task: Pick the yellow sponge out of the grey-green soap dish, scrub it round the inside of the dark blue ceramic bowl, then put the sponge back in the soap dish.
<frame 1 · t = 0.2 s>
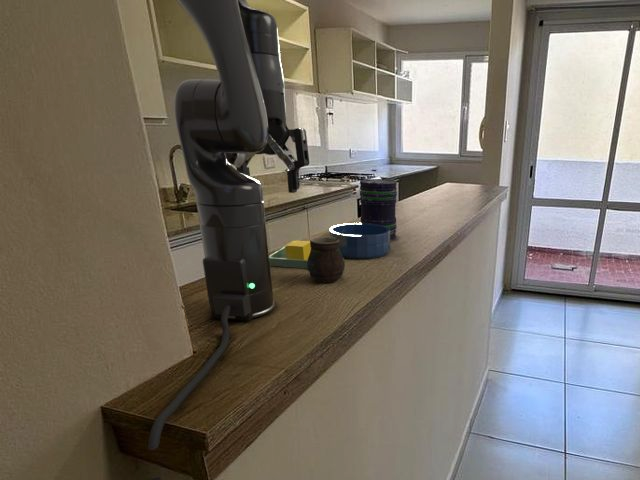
hand: (269, 191, 78), 17 cm above the countertop, tool pointing down, fingers open, 8 cm apart
mate gourd: (327, 280, 88), on the countertop
sponge: (299, 251, 98), in the soap dish
soap dish: (299, 260, 99), on the countertop
bowl: (360, 251, 108), on the countertop
storage jar: (378, 238, 123), on the countertop
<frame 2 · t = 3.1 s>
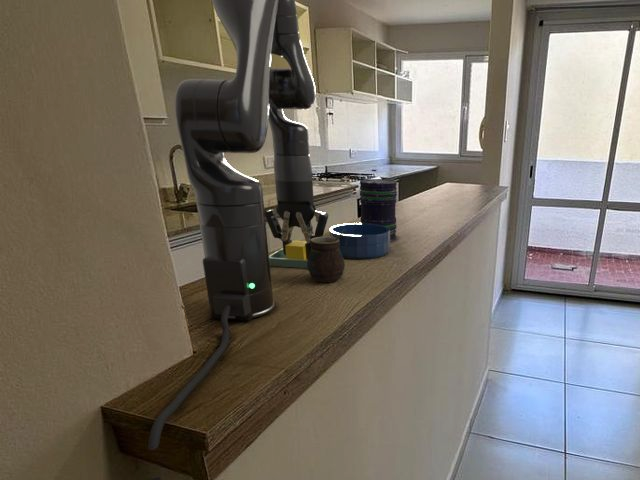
hand: (299, 257, 99), 1 cm above the countertop, tool pointing down, fingers closed on sponge, 4 cm apart
sponge: (299, 251, 98), in the soap dish, touching gripper
everything else where it was.
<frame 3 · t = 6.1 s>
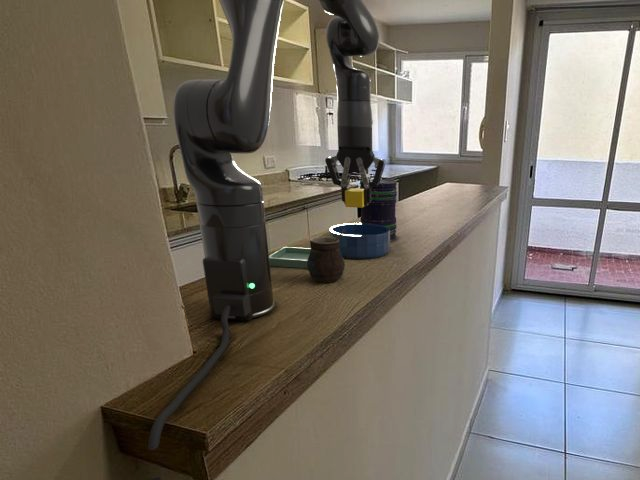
hand: (356, 204, 104), 11 cm above the countertop, tool pointing down, fingers closed on sponge, 4 cm apart
sponge: (356, 197, 103), point 13 cm above the countertop, touching gripper
everything else where it was.
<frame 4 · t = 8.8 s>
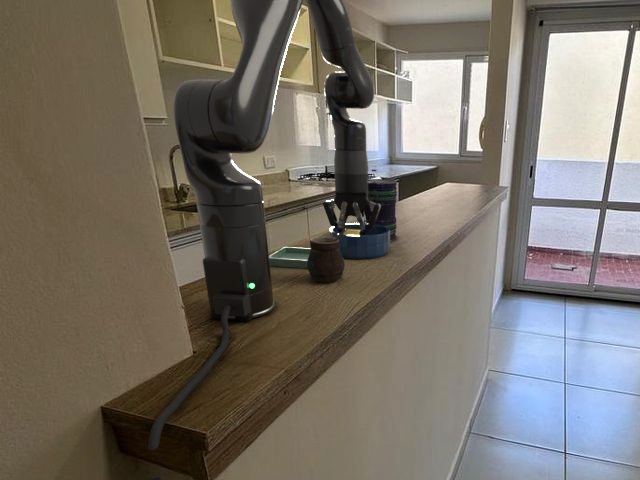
hand: (353, 244, 108), 2 cm above the countertop, tool pointing down, fingers closed on sponge, 4 cm apart
sponge: (352, 238, 107), in the bowl, point 3 cm above the countertop, touching gripper
everything else where it was.
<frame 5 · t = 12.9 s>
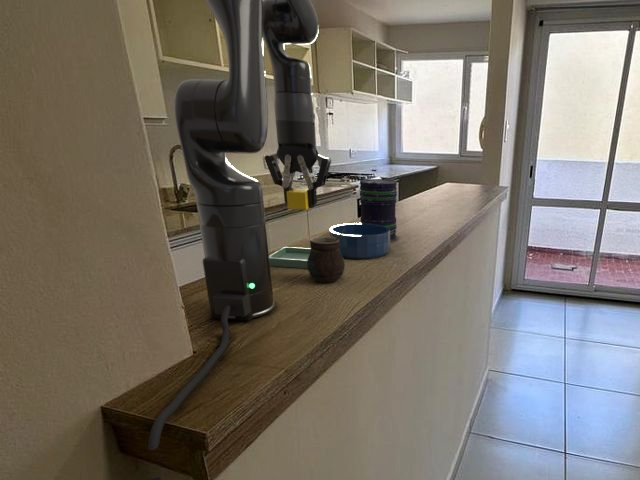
hand: (301, 206, 95), 12 cm above the countertop, tool pointing down, fingers closed on sponge, 4 cm apart
sponge: (300, 199, 95), point 13 cm above the countertop, touching gripper
everything else where it was.
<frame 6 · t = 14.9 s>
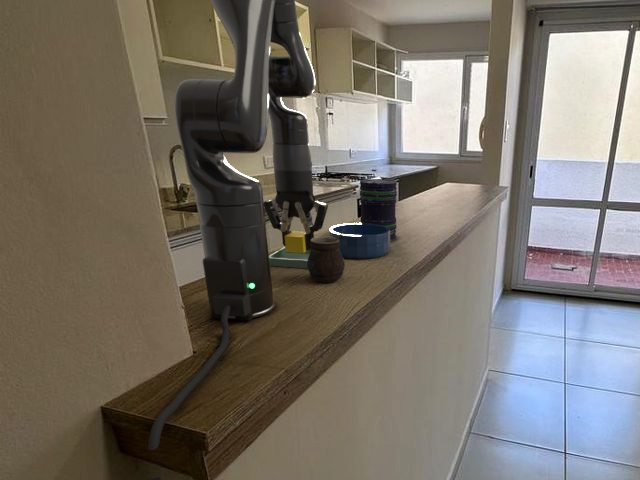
hand: (299, 248, 98), 3 cm above the countertop, tool pointing down, fingers closed on sponge, 4 cm apart
sponge: (298, 241, 98), point 4 cm above the countertop, touching gripper
everything else where it was.
when the fingers open (1 cm above the countertop, at t = 15.9 s): sponge stays where it is, resting on soap dish.
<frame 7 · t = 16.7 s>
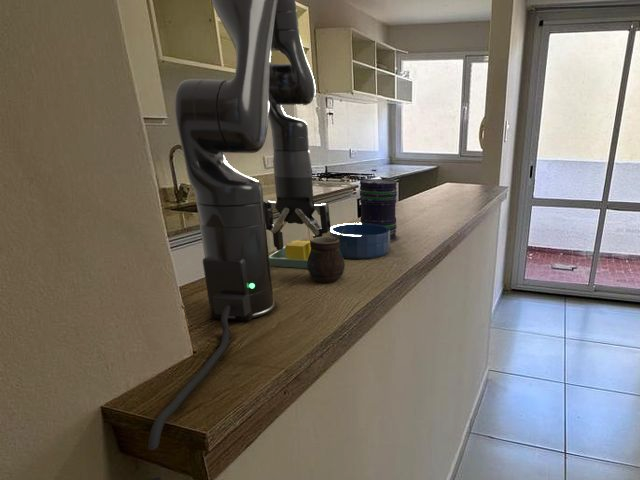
hand: (298, 250, 98), 2 cm above the countertop, tool pointing down, fingers open, 8 cm apart
sponge: (299, 250, 99), in the soap dish
everything else where it was.
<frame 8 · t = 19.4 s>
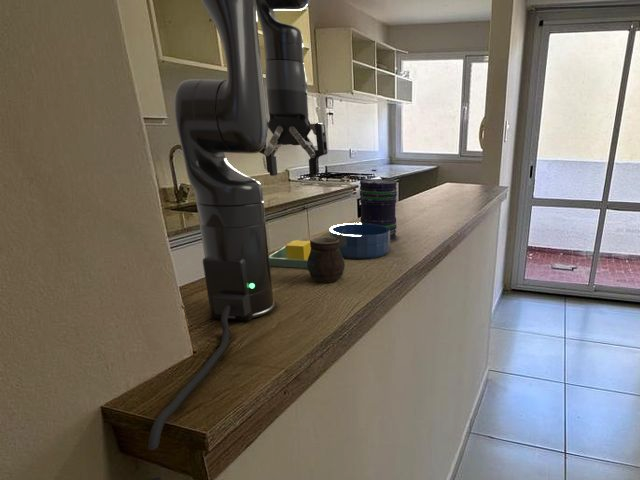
hand: (293, 176, 92), 18 cm above the countertop, tool pointing down, fingers open, 8 cm apart
nothing on the countertop moved.
at the end: sponge inside the target area (0.2 cm from its centre), point 2.2 cm above the countertop; the gripper is holding nothing; sponge tilted 0° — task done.
